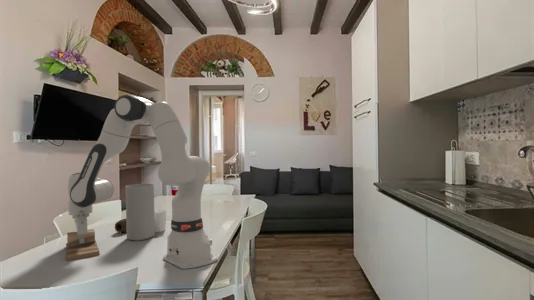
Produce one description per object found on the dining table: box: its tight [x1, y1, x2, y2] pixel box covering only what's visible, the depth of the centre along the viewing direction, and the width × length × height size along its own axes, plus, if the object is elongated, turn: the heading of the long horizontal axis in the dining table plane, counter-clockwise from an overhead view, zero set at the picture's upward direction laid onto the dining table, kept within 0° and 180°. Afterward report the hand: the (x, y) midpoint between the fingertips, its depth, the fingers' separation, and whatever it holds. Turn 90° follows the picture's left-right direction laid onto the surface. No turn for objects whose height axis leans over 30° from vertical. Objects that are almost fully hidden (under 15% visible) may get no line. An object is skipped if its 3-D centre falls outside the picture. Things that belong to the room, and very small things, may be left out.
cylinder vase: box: [125, 183, 156, 241], centre depth 146 cm, size 12×12×25 cm
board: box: [65, 240, 100, 262], centre depth 127 cm, size 21×11×2 cm, turn 34°
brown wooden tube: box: [114, 218, 127, 234], centre depth 159 cm, size 15×7×7 cm, turn 169°
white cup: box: [154, 209, 167, 233], centre depth 157 cm, size 8×8×10 cm
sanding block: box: [66, 228, 96, 247], centre depth 132 cm, size 5×10×5 cm, turn 124°
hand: (81, 241), depth 132 cm, fingers closed on sanding block, 5 cm apart
